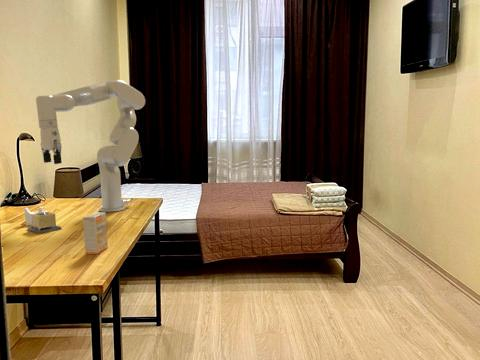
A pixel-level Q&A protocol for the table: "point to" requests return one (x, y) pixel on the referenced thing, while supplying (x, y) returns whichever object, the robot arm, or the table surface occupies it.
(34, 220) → the collar
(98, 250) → the supplement box
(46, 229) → the peg base plate
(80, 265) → the table surface
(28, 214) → the bracket
